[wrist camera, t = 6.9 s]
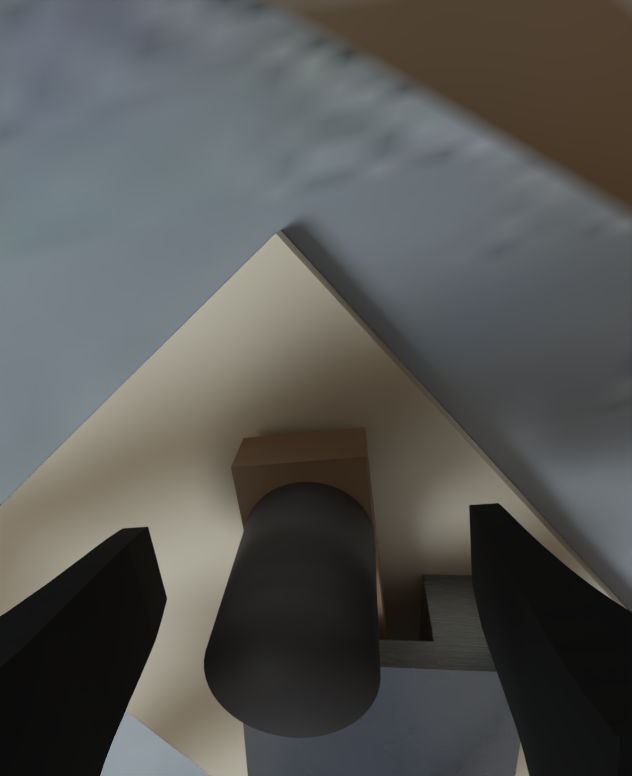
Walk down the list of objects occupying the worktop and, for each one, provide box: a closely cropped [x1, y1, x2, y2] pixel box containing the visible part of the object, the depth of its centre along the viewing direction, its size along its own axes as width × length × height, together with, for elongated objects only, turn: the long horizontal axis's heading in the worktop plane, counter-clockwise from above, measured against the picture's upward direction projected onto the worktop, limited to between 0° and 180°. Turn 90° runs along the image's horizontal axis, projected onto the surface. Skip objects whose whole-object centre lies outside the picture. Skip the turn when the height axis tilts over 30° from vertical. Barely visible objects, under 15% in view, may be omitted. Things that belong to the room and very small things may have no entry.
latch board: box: [0, 230, 628, 776], centre depth 17 cm, size 19×14×1 cm
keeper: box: [243, 574, 520, 776], centre depth 15 cm, size 6×4×4 cm
